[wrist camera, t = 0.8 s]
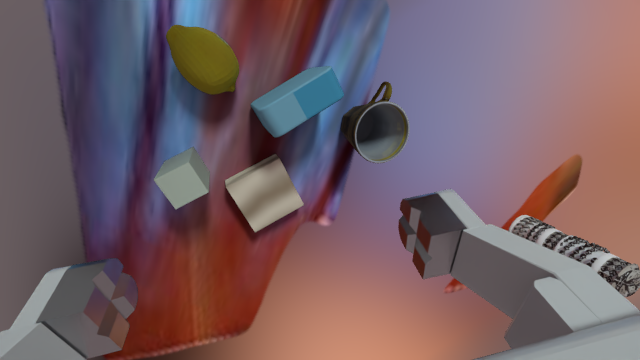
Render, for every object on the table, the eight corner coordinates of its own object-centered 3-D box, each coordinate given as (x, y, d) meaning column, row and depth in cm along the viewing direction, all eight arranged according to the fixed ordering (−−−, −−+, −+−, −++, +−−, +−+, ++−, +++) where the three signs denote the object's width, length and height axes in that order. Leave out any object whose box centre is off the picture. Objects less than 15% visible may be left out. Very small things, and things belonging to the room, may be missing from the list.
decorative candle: (510, 250, 84) (618, 313, 62) (503, 227, 80) (616, 285, 58) (535, 231, 85) (650, 286, 62) (529, 207, 81) (650, 257, 58)
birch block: (225, 179, 53) (225, 187, 50) (275, 153, 55) (279, 158, 51) (252, 222, 57) (255, 232, 54) (298, 197, 59) (303, 204, 55)
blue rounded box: (263, 126, 52) (276, 140, 41) (249, 103, 50) (258, 111, 39) (321, 91, 53) (348, 95, 43) (309, 67, 52) (334, 65, 41)
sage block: (164, 160, 49) (153, 179, 40) (193, 146, 50) (188, 162, 41) (182, 186, 51) (175, 209, 42) (209, 172, 52) (208, 192, 43)
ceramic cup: (374, 152, 61) (402, 165, 52) (328, 147, 57) (349, 161, 48) (387, 85, 57) (420, 86, 48) (339, 76, 54) (364, 76, 45)
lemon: (249, 77, 49) (255, 77, 42) (210, 106, 49) (209, 111, 41) (202, 13, 44) (199, 0, 37) (158, 44, 44) (147, 38, 37)
